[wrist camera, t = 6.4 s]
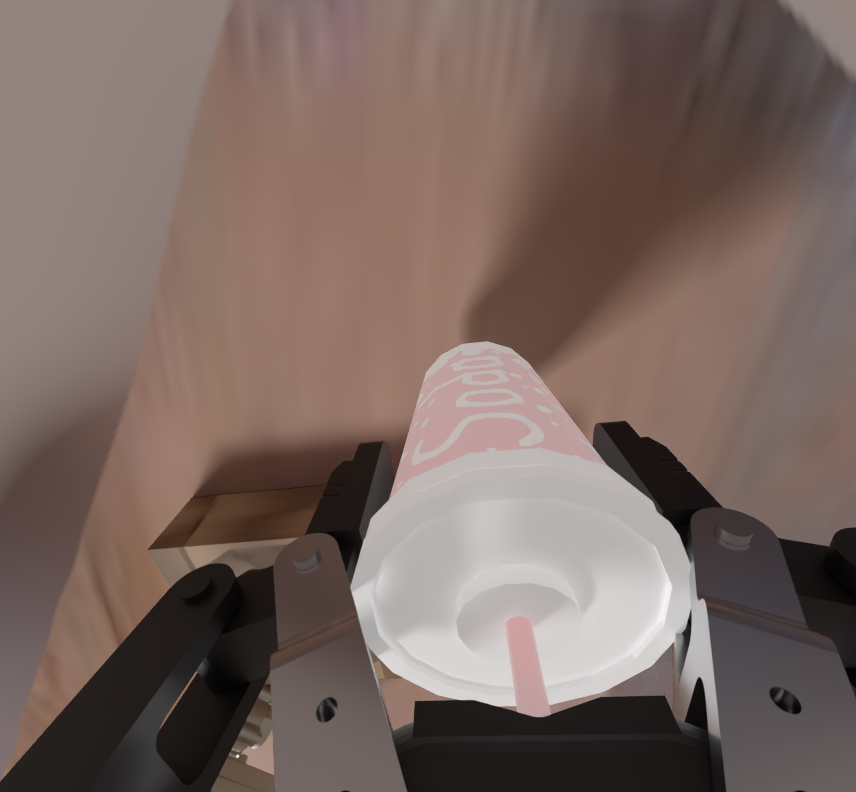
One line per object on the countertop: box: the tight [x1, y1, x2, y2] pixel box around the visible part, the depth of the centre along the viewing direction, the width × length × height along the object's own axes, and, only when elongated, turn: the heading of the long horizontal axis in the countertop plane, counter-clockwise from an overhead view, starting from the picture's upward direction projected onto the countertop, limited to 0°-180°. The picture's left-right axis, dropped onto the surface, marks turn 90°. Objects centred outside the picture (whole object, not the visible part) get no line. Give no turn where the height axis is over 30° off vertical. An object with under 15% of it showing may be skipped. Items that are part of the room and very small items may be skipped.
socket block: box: [148, 479, 403, 685], centre depth 21 cm, size 17×11×4 cm, turn 98°
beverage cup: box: [351, 341, 691, 717], centre depth 9 cm, size 6×6×14 cm
